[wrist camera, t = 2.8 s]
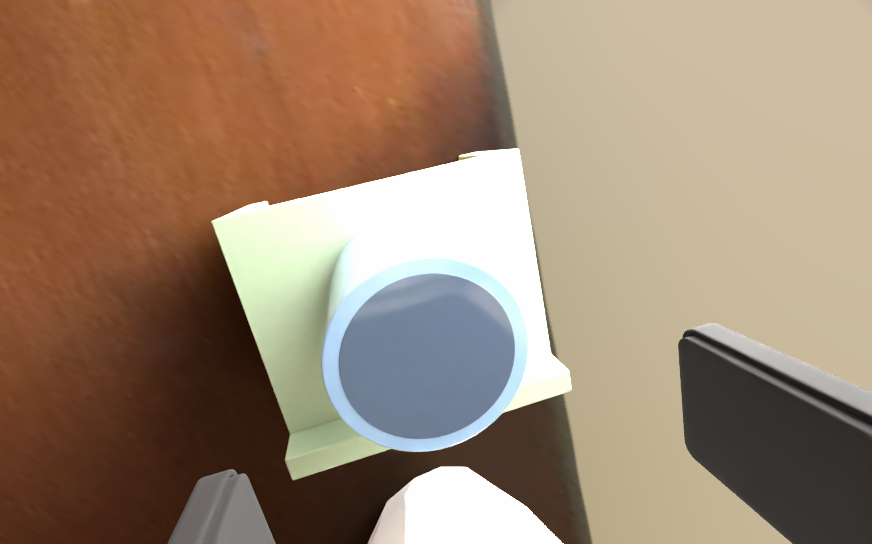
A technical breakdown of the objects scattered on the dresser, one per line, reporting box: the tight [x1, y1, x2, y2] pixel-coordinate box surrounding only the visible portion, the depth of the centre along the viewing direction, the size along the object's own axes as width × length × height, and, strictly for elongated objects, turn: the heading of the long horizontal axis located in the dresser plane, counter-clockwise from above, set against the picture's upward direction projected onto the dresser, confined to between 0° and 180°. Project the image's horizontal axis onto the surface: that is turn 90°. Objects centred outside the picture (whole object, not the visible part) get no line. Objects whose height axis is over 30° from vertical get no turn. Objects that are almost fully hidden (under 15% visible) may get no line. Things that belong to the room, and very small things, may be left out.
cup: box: [321, 220, 529, 452], centre depth 17 cm, size 6×6×8 cm
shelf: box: [212, 149, 572, 480], centre depth 23 cm, size 12×14×9 cm
